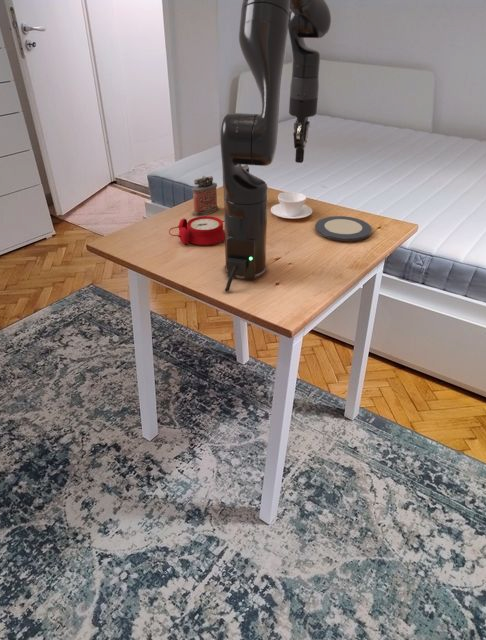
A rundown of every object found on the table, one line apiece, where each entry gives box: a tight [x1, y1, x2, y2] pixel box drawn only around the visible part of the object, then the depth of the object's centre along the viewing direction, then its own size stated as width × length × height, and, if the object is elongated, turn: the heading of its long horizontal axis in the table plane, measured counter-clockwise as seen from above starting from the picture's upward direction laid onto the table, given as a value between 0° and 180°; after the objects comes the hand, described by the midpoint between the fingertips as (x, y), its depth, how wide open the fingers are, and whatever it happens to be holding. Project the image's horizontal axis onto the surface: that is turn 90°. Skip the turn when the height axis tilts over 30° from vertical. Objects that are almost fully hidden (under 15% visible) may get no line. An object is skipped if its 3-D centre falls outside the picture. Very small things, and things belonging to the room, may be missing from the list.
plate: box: [314, 215, 373, 242], centre depth 130 cm, size 15×15×1 cm
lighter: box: [191, 175, 219, 217], centre depth 138 cm, size 8×3×10 cm, turn 133°
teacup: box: [270, 191, 313, 220], centre depth 137 cm, size 12×12×5 cm
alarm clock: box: [168, 215, 225, 246], centre depth 125 cm, size 10×6×15 cm
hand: (299, 161), depth 140 cm, fingers closed
